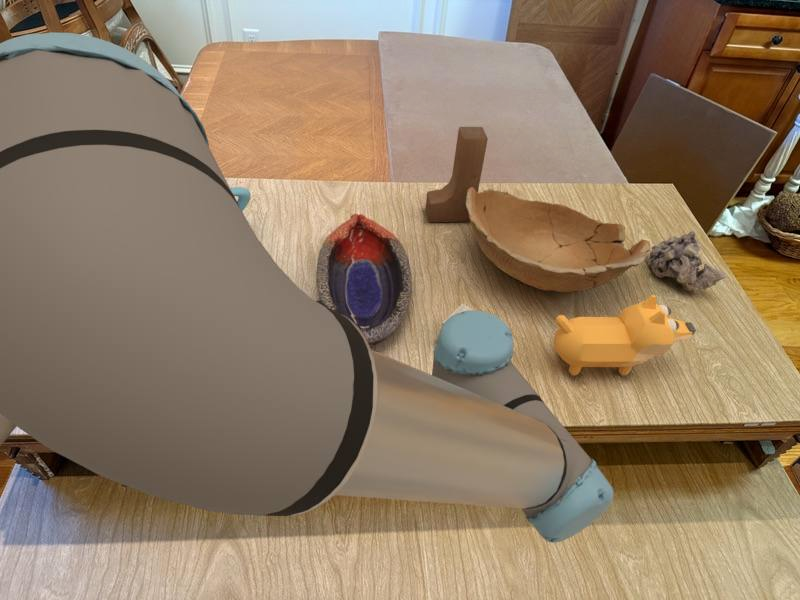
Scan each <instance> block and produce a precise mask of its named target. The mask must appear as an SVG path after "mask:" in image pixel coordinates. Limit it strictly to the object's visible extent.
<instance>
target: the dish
mask: <svg viewBox="0 0 800 600" xmlns="http://www.w3.org/2000/svg"><path fill="white" fill-rule="evenodd" d="M316 289H317V295H318V300H320V301H322V302H323V303H324V304H325V305H326V306H327V307H329V308H330V309H332V310H334V311H337V312H339V313H341V314H342V315H344V316H346V317H347V318H349V319H350V320H351V321H352V322H353V323H354V324H355V325H356V326H358V328H359V329H360V330H361V332H362V333H363V334H364V335H365V336H366V340H367V342H368V344H369V346H370V347H371V346H374V345H378V344H380V343H382V342H384V341H385V340H387V339H388V338H390V336H392V334H393V333H394V332H395V331H396V330H397V328H399V326H400V325H401V323H402V322H403V321H404V318H405V316H406V314H407V312H408V310H409V307H410V303H411V298H412V292H413V291H412V290H413V275H412V269H411V265H410V261H409V257H408V255H407V251H406V250H405V248H404V246H403V244H402V243H401V242H400V240H399V239H398V238H397V237H396V236H395V235H394V234H393V233H392V232H391V230H388V229H386V228H385V227H384V226H382V225H380V224H379V223H378V222H376V221H375V220H373V219H370V218H368V217H367V216H366V215H365V214H363V213H359V214H358V213H353V214H351V215H350V218H349V219H348V220H346V221H344V222H342V223H341V224H339V225H338V226H337V227H336V228H334V230H332V231H331V233H330V234H328V236H327V237H326V238H325V240H324V242H323V243H322V246H321V248H320V251H319V254H318V258H317V263H316Z"/></svg>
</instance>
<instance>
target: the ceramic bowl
mask: <svg viewBox="0 0 800 600" xmlns="http://www.w3.org/2000/svg"><path fill="white" fill-rule="evenodd" d="M466 197H467V198H466V209H467V210H468V214H469V218H470V222H469V223H470V227H471V230H472V232H473V235H474V237H475V240H476V242H477V243H478V246H479V247H480V248H481V251H482V252H483V253H484V255H485V257H487V258H488V260H489V261H490V262H492V263H493V264H494V265H495V267H497V268H498V269H500V270H501V271H502V272H503V273H505V274H507V275H508V276H510V277H511V278H513V279H516V280H518V281H520V282H521V283H523V284H525V285H527V286H531V287H533V288H536V289H539V290H542V291H551V292H561V293H562V292H563V293H570V292H581V291H585V290H589V289H593V288H596V287H599V286H600V285H601V286H602V285H604V284H606V283H608V282H610V281H613V280H614V279H616V278H618V277H619V276H621V275H622V274H623V273H625V272H627V271H628V270H629V269H631V268H632V267H638V266H639V265H641V264H643V263H645V261H646V259H647V258H648V259H649V256H650V253H649V252H651V244H650V242H651V241H650V240H647V239H642V238H641V240H640V241H638V242H637V243H635V244H633V245H632V246H631V247H630V249H627V248H626V247H625V243H624V242H625V241H626V231H625V230H626V227H625V226H624V225H623V224H620V223H610V222H603V221H601V220H599V219H595V218H592V217H589V216H587V215H586V214H584V213H582V212H581V211H578V210H575V209H573V208H571V207H569V206H567V205H565V204H562V203H550V202H546V201H541V200H528V199H524V198H523V199H522V198H520V197H518V196H516V195H515V194H511V193H510V192H508V191H500V190H495V189H492V188H487V189H486V190H483V191H479V192H478V193H477V191H475V189H474V188H473V187H471V188H469V189H468V191H467V196H466Z"/></svg>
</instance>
